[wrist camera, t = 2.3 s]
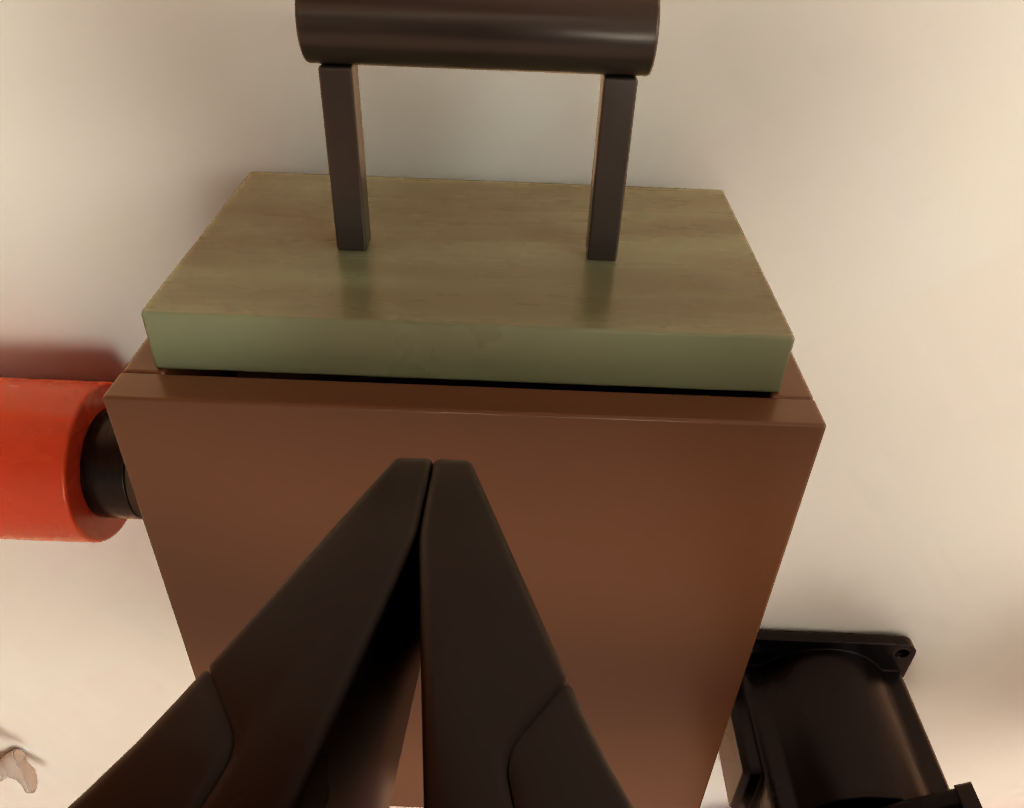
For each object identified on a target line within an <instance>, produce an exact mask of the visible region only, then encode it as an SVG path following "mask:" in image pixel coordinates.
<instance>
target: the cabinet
mask: <svg viewBox="0 0 1024 808" xmlns="http://www.w3.org/2000/svg"><path fill="white" fill-rule="evenodd" d="M238 372H239V371H219V370H194V369H168V368H157V367H156V365H155V362H154V358H153V354H152V351H151V347H150V344H149V340H148V337H147V339H146V340H145V342H144V343H143V344H142V346H141V347H140V348H139V350H138V351H137V352H136V354H135V355H134V357H133V358H132V359H131V361H130V362H129V363H128V365H127V366H126V367H125V369H124V372H123V373H121V374H119V376H118V377H117V378H116V380H115V381H114V383H113V384H112V385H111V387H110V388H109V389H108V391H107V392H106V393H105V395H104V397H103V400H104V403H105V406H106V409H107V412H108V415H109V418H110V421H111V424H112V427H113V430H114V433H115V436H116V439H117V442H118V445H119V448H120V451H121V454H122V457H123V460H124V463H125V466H126V469H127V472H128V475H129V478H130V481H131V485H132V488H133V491H134V494H135V497H136V500H137V503H138V506H139V509H140V512H141V515H142V518H143V521H144V524H145V527H146V530H147V533H148V536H149V539H150V542H151V545H152V548H153V551H154V554H155V557H156V560H157V563H158V566H159V569H160V572H161V575H162V578H163V581H164V584H165V587H166V590H167V593H168V596H169V599H170V602H171V605H172V608H173V611H174V614H175V617H176V620H177V623H178V626H179V629H180V632H181V635H182V638H183V641H184V644H185V647H186V651H187V654H188V657H189V660H190V663H191V666H192V669H193V672H194V675H195V678H196V679H197V678H198V676H199V675H200V674H201V673H202V672H204V671H208V672H209V665H210V664H211V663H212V661H213V660H214V659H215V658H216V657H217V656H218V655H219V654H220V653H221V651H222V650H223V649H224V648H225V647H226V646H227V645H228V644H229V643H230V642H231V640H232V639H233V638H234V637H235V636H236V635H237V634H238V633H239V632H240V630H241V629H242V628H243V627H244V626H245V625H246V624H247V623H248V622H249V620H250V619H251V618H252V617H253V616H254V615H255V614H256V613H257V612H258V610H259V609H260V608H261V607H262V606H263V605H264V604H265V603H266V602H267V601H268V599H269V598H270V597H271V596H272V595H273V594H274V593H275V592H276V591H277V589H278V588H279V587H280V586H281V585H282V584H283V583H284V582H285V581H286V579H287V578H288V577H289V576H290V575H291V574H292V573H293V572H294V571H295V569H296V568H297V567H298V566H299V565H300V564H301V563H302V562H303V561H304V560H305V558H306V557H307V556H308V555H309V554H310V553H311V552H312V551H313V550H314V548H315V547H316V546H317V545H318V544H319V543H320V542H321V541H322V540H323V538H324V537H325V536H326V535H327V534H328V533H329V532H330V531H331V530H332V528H333V527H334V526H335V525H336V524H337V523H338V522H339V521H340V520H341V519H342V517H343V516H344V515H345V514H346V513H347V512H348V511H349V510H350V509H351V507H352V506H353V505H354V504H355V503H356V502H357V501H358V500H359V499H360V497H361V496H362V495H363V494H364V493H365V492H366V491H367V490H368V489H369V487H370V486H371V485H372V484H373V483H374V482H375V481H376V480H377V479H378V478H379V476H380V475H381V474H382V473H383V472H384V471H385V470H386V469H387V468H388V466H389V465H390V464H391V463H392V462H393V461H394V460H396V459H397V458H427V459H430V460H431V461H432V463H433V464H434V462H435V461H436V460H438V459H454V460H468V461H469V462H471V464H472V465H473V467H474V469H475V472H476V474H477V476H478V478H479V481H480V483H481V485H482V487H483V490H484V492H485V494H486V496H487V498H488V501H489V503H490V505H491V507H492V510H493V512H494V514H495V516H496V519H497V521H498V523H499V525H500V528H501V530H502V532H503V534H504V537H505V539H506V541H507V543H508V546H509V548H510V550H511V552H512V554H513V557H514V559H515V561H516V563H517V566H518V568H519V570H520V572H521V575H522V577H523V579H524V581H525V584H526V586H527V588H528V590H529V593H530V595H531V597H532V599H533V602H534V604H535V606H536V608H537V610H538V613H539V615H540V617H541V619H542V622H543V624H544V626H545V628H546V631H547V633H548V635H549V637H550V640H551V642H552V644H553V646H554V649H555V651H556V653H557V655H558V658H559V660H560V662H561V664H562V666H563V669H564V671H565V673H566V675H567V678H568V681H569V683H568V685H570V686H571V687H572V688H573V690H574V692H575V695H576V697H577V699H578V701H579V704H580V706H581V708H582V710H583V713H584V715H585V717H586V719H587V721H588V723H589V725H590V727H591V729H592V731H593V733H594V735H595V737H596V739H597V741H598V744H599V746H600V748H601V750H602V752H603V754H604V756H605V758H606V760H607V762H608V764H609V766H610V767H611V769H612V771H613V772H614V774H615V776H616V778H617V779H618V781H619V783H620V785H621V786H622V788H623V790H624V792H625V793H626V795H627V797H628V799H629V800H630V802H631V804H632V806H633V807H634V808H700V805H701V802H702V799H703V796H704V793H705V790H706V787H707V784H708V781H709V778H710V775H711V772H712V769H713V766H714V763H715V760H716V757H717V754H718V751H719V748H720V745H721V742H722V739H723V736H724V733H725V730H726V727H727V724H728V721H729V718H730V715H731V712H732V709H733V706H734V703H735V700H736V697H737V694H738V691H739V688H740V685H741V681H742V678H743V675H744V672H745V669H746V666H747V663H748V660H749V657H750V654H751V651H752V648H753V645H754V642H755V639H756V636H757V633H758V630H759V627H760V624H761V621H762V618H763V615H764V612H765V609H766V606H767V603H768V600H769V597H770V594H771V591H772V588H773V585H774V582H775V579H776V576H777V573H778V570H779V567H780V564H781V561H782V558H783V555H784V552H785V549H786V546H787V543H788V540H789V537H790V534H791V531H792V527H793V524H794V521H795V518H796V515H797V512H798V509H799V506H800V503H801V500H802V497H803V494H804V491H805V488H806V485H807V482H808V479H809V476H810V473H811V470H812V467H813V464H814V461H815V458H816V455H817V452H818V449H819V446H820V443H821V440H822V437H823V434H824V431H825V428H826V424H825V422H824V420H823V418H822V416H821V414H820V411H819V409H818V407H817V405H816V403H815V401H814V400H813V397H812V395H811V393H810V391H809V389H808V387H807V384H806V382H805V380H804V378H803V376H802V374H801V372H800V370H799V367H798V365H797V363H796V361H795V359H794V357H793V355H792V353H790V357H789V361H788V364H787V368H786V371H785V375H784V378H783V382H782V386H781V389H780V391H779V392H755V391H729V390H710V391H711V395H712V396H703V395H677V394H652V393H626V392H601V391H575V390H550V389H524V388H499V387H473V386H448V385H422V384H397V383H371V382H346V381H320V380H295V379H269V378H244V377H236V375H237V374H238ZM209 673H210V672H209ZM390 806H402V807H424V794H423V747H422V701H421V665H420V671H419V675H418V680H417V684H416V689H415V693H414V698H413V702H412V707H411V711H410V716H409V720H408V725H407V729H406V734H405V738H404V743H403V747H402V752H401V756H400V761H399V765H398V770H397V774H396V779H395V783H394V788H393V792H392V797H391V801H390Z"/></svg>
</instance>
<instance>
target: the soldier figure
mask: <svg viewBox="0 0 1024 808" xmlns="http://www.w3.org/2000/svg"><path fill="white" fill-rule="evenodd" d="M25 758H26V756H25V754H24V753H23V752H22V751H21V750H20V749H14V750H13V751H11V752H8V753H7V754H6V755H5V756H4V757H3V758H2V759H1V760H0V781H2V780H4V779H6V778H7V777H9V778H13V779H15V780H17V781H18V782H19V783H20V784H21V785H22V786H23V788H24V791H25V792H26V793H34V792H35V790H36V788H37V774H36V771H35V769H34V768H33V767H32V766H31V765H30V764H29V763H28V762H27V761H26V760H25Z"/></svg>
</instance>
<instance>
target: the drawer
mask: <svg viewBox="0 0 1024 808" xmlns="http://www.w3.org/2000/svg"><path fill="white" fill-rule="evenodd" d="M295 21H296V30H297V37H298V42H299V46H300V49H301V52H302V55H303V57H304V59H305V60H306V61H307V62H309V63H321V65H320V66H319V69H318V71H319V80H320V90H321V99H322V109H323V118H324V128H325V137H326V147H327V156H328V166H329V175H322V174H296V173H271V172H251V173H250V174H249V175H248V176H247V178H246V179H245V180H244V182H243V183H242V184H241V185H240V187H239V188H238V189H237V190H236V192H235V193H234V194H233V196H232V197H231V198H230V199H229V201H228V202H227V203H226V204H225V206H224V207H223V208H222V210H221V211H220V212H219V213H218V215H217V216H216V217H215V219H214V220H213V221H212V222H211V224H210V225H209V226H208V227H207V229H206V230H205V231H204V233H203V234H202V235H201V236H200V238H199V239H198V240H197V241H196V243H195V244H194V245H193V247H192V248H191V249H190V250H189V252H188V253H187V254H186V256H185V257H184V258H183V259H182V261H181V262H180V263H179V264H178V266H177V267H176V268H175V270H174V271H173V272H172V273H171V275H170V276H169V277H168V278H167V280H166V281H165V282H164V284H163V285H162V286H161V287H160V289H159V290H158V291H157V292H156V294H155V295H154V296H153V298H152V299H151V300H150V301H149V303H148V304H147V305H146V307H145V308H144V309H143V310H142V313H141V314H142V318H143V322H144V325H145V329H146V333H147V336H148V340H149V344H150V347H151V351H152V354H153V358H154V362H155V365H156V367H157V368H168V369H194V370H219V371H239V372H238V374H237V375H236V377H244V378H269V379H295V380H320V381H346V382H371V383H397V384H422V385H448V386H473V387H499V388H524V389H550V390H575V391H601V392H626V393H652V394H677V395H703V396H712V395H711V391H710V390H729V391H755V392H779V391H780V389H781V386H782V382H783V378H784V375H785V371H786V368H787V364H788V361H789V357H790V353H791V350H792V346H793V343H794V335H793V333H792V331H791V329H790V327H789V325H788V323H787V321H786V319H785V317H784V315H783V313H782V311H781V309H780V307H779V305H778V303H777V301H776V299H775V297H774V295H773V293H772V291H771V288H770V286H769V284H768V282H767V280H766V278H765V276H764V274H763V272H762V270H761V268H760V266H759V264H758V262H757V260H756V258H755V256H754V254H753V252H752V250H751V248H750V246H749V244H748V241H747V239H746V237H745V235H744V233H743V231H742V229H741V227H740V225H739V223H738V221H737V219H736V217H735V215H734V213H733V211H732V209H731V207H730V205H729V203H728V201H727V199H726V197H725V195H724V192H723V191H722V190H705V189H680V188H654V187H629V186H625V185H626V176H627V168H628V159H629V151H630V142H631V134H632V125H633V117H634V109H635V100H636V92H637V83H638V81H637V78H636V76H648V75H649V74H650V73H651V70H652V68H653V65H654V61H655V56H656V50H657V43H658V35H659V24H660V0H295ZM358 65H372V66H397V67H423V68H449V69H474V70H500V71H525V72H551V73H577V74H601V85H600V96H599V107H598V118H597V128H596V139H595V150H594V161H593V172H592V182H591V185H578V184H552V183H526V182H501V181H475V180H450V179H424V178H399V177H373V176H366V166H365V154H364V141H363V128H362V115H361V102H360V89H359V76H358Z"/></svg>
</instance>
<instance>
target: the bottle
mask: <svg viewBox="0 0 1024 808" xmlns="http://www.w3.org/2000/svg"><path fill="white" fill-rule="evenodd" d="M112 384H113V382H103V381H78V380H52V379H27V378H1V377H0V539H16V540H41V541H67V542H92V543H95V542H102V541H105V540H108V539H109V538H111V537H113V536H114V535H115V534H116V533H117V532H118V531H119V530H120V529H121V528H122V527H123V525H124V524H125V522H126V521H127V519H143V518H142V515H141V512H140V509H139V506H138V503H137V500H136V497H135V494H134V491H133V488H132V485H131V481H130V478H129V475H128V472H127V469H126V466H125V463H124V460H123V457H122V454H121V451H120V448H119V445H118V442H117V439H116V436H115V433H114V430H113V427H112V424H111V421H110V418H109V415H108V412H107V409H106V406H105V403H104V400H103V397H104V395H105V393H106V392H107V391H108V389H109V388H110V387H111V385H112Z"/></svg>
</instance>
